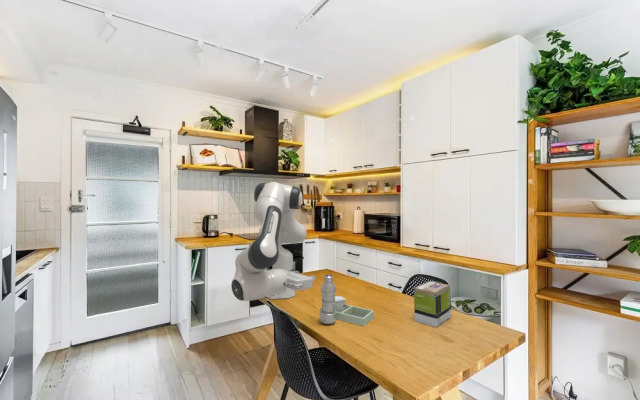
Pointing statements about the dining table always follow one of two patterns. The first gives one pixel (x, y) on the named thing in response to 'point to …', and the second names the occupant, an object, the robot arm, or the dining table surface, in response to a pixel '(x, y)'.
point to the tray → (355, 315)
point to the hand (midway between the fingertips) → (306, 275)
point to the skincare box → (340, 304)
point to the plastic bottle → (328, 300)
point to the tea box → (432, 303)
